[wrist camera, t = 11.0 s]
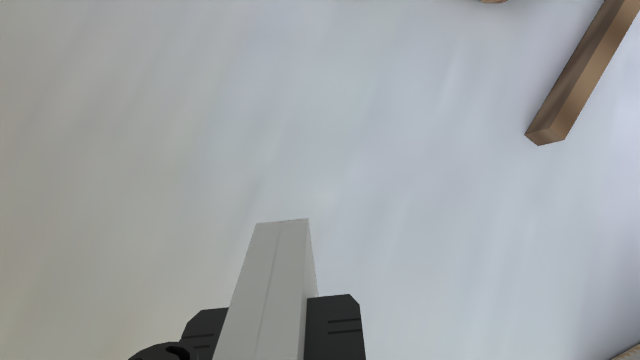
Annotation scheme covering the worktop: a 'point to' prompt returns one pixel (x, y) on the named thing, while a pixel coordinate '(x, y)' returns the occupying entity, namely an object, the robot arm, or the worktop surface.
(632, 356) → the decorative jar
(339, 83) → the worktop surface
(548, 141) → the wooden flag stand
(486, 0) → the cupcake
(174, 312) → the worktop surface
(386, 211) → the worktop surface
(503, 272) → the worktop surface
